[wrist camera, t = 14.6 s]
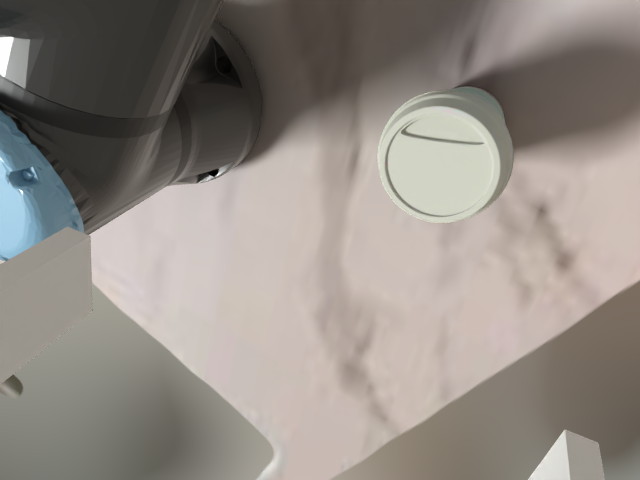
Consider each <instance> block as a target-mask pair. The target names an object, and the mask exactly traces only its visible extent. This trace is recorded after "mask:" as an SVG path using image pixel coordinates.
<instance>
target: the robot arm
mask: <svg viewBox="0 0 640 480" xmlns="http://www.w3.org/2000/svg"><path fill="white" fill-rule="evenodd" d="M222 2H223V0H0V260H3V261H6V262H4V263H2V264H0V384H1V383H3V382H4V381H5V380H6V379H8V378H9V377H10V376H11V375H13V374H14V373H15V372H16V371H18V370H19V369H20V368H21V367H23V366H24V365H25V364H26V363H28V362H29V361H30V360H31V359H32V358H34V357H35V356H36V355H37V354H39V353H40V352H42V350H44V349H45V348H46V347H48V346H49V345H50V344H51V343H53V342H54V341H55V340H57V339H58V338H59V337H60V336H62V335H63V334H64V333H65V332H66V331H68V330H69V329H70V328H71V327H73V326H74V325H75V324H77V323H78V322H79V321H80V320H81V319H83V318H84V317H85V316H87V315H88V314H89V313H90V312H92V311H93V308H92V273H91V239H90V236H89V234H91V233H92V232H94V231H96V230H97V229H99V228H100V227H102V226H104V225H105V224H107V223H108V222H110V221H112V220H113V219H115V218H116V217H118V216H120V215H121V214H123V213H124V212H126V211H128V210H129V209H131V208H132V207H134V206H135V205H137V204H139V203H140V202H142V201H143V200H145V199H147V198H148V197H150V196H151V195H153V194H155V193H156V192H158V191H159V190H161V189H163V188H164V187H166V186H170V185H183V184H195V183H203V182H207V181H210V180H213V179H216V178H218V177H220V176H222V175H224V174H225V173H227V172H228V171H230V170H231V169H232V168H234V167H235V166H237V165H238V164H239V163H240V162H241V161H242V160H243V159H244V158H245V157H246V156H247V155H248V153H249V152H250V150H251V149H252V147H253V145H254V143H255V141H256V138H257V135H258V132H259V128H260V123H261V112H262V105H261V95H260V89H259V84H258V81H257V77H256V75H255V72H254V69H253V67H252V65H251V63H250V61H249V59H248V57H247V55H246V53H245V52H244V50H243V49H242V47H241V46H240V44H239V43H238V42H237V40H236V39H235V38H234V37H233V36H232V35H231V34H230V33H229V32H228V31H227V30H226V29H225V28H224V27H223V26H222V25H220V24H219V23H218V22H216V21H215V20H214V19H215V17H216V15H217V12H218V10H219V8H220V6H221V4H222ZM528 480H605V478H604V472H603V466H602V461H601V455H600V450H599V445H598V443H597V442H595V441H592V440H590V439H587V438H585V437H582V436H580V435H577V434H575V433H572V432H570V431H568V430H564V431H563V433H562V434H561V435H560V437H559V438H558V440H557V441H556V443H555V444H554V445H553V446H552V448H551V449H550V450H549V452H548V453H547V455H546V456H545V457H544V459H543V460H542V461H541V463H540V464H539V465H538V467H537V468H536V470H535V471H534V472H533V474H532V475H531V476H530V478H529V479H528Z"/></svg>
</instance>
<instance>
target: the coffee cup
mask: <svg viewBox="0 0 640 480" xmlns="http://www.w3.org/2000/svg"><path fill="white" fill-rule="evenodd" d="M377 160H378V168H379V173H380V177H381V181H382V183H383V186H384V188H385V190H386V192H387V193H388V195H389V197H390V198H391V199H392V200H393V202H394V203H395V204H396V205H397V206H398V207H399V208H401V209H402V210H403V211H405V212H406V213H408V214H409V215H411V216H413V217H415V218H418V219H421V220H424V221H428V222H433V223H449V222H455V221H460V220H464V219H467V218H470V217H472V216H475V215H477V214H478V213H480V212H482V211H483V210H485V209H486V208H487V207H489V206H490V205H491V204H492V203H493V202H494V201H495V200H496V199H497V198H498V197H499V195H500V194H501V193H502V192H503V190H504V188H505V187H506V185H507V183H508V181H509V178H510V176H511V172H512V168H513V161H514V151H513V144H512V139H511V136H510V133H509V131H508V129H507V127H506V125H505V118H504V113H503V110H502V107H501V105H500V104H499V102H498V101H497V99H496V98H495V97H494V96H493V95H491V94H490V93H489V92H487V91H485V90H483V89H481V88H478V87H472V86H463V87H457V88H454V89H451V90H439V91H432V92H428V93H424V94H421V95H419V96H416V97H414V98H412V99H411V100H409V101H407V102H406V103H404V104H403V105H402V106H401V107H400V108H399V109H397V110H396V112H395V113H394V114H393V115H392V116H391V118H390V119H389V121H388V122H387V124H386V126H385V128H384V130H383V133H382V135H381V138H380V141H379V146H378V154H377Z"/></svg>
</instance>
